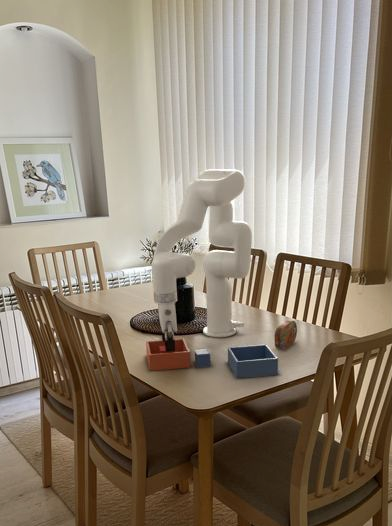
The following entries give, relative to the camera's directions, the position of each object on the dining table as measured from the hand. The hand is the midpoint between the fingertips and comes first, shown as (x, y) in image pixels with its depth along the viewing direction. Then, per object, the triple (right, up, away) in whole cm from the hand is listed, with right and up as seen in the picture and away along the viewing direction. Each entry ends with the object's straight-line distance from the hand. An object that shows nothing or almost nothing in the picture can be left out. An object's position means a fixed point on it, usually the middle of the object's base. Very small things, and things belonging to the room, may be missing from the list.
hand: (168, 345), depth 183 cm
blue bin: (+27, -7, -6) cm, 29 cm away
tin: (+41, 0, +13) cm, 43 cm away
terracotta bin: (0, -5, +1) cm, 6 cm away
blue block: (+11, -6, -2) cm, 13 cm away
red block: (0, -5, +1) cm, 5 cm away
